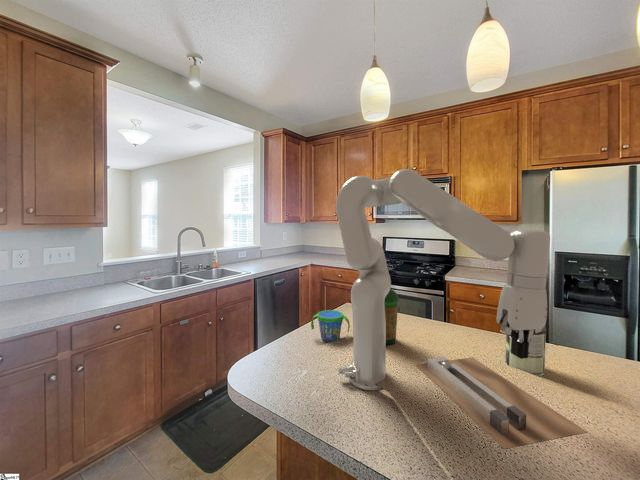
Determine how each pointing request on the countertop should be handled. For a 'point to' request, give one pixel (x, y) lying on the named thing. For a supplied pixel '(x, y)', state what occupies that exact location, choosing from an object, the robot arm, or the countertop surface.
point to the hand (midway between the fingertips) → (518, 355)
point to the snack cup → (330, 324)
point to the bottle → (391, 316)
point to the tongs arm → (489, 396)
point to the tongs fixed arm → (469, 396)
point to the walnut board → (538, 415)
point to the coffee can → (529, 355)
